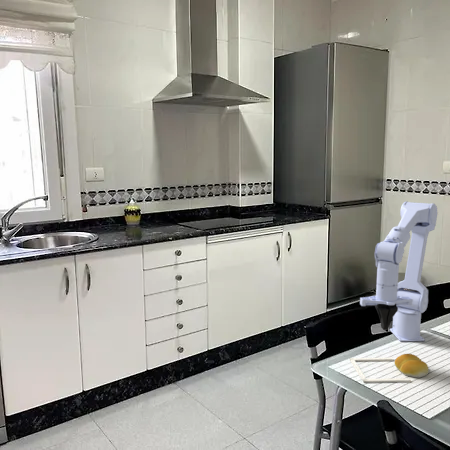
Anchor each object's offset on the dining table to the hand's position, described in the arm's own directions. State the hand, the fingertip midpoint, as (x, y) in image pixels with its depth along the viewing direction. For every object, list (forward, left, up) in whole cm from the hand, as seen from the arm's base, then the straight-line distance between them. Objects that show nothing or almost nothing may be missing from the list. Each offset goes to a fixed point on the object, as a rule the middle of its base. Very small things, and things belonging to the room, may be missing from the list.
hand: (384, 328), depth 131 cm
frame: (+7, -4, -10) cm, 12 cm away
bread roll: (+6, +6, -10) cm, 13 cm away
